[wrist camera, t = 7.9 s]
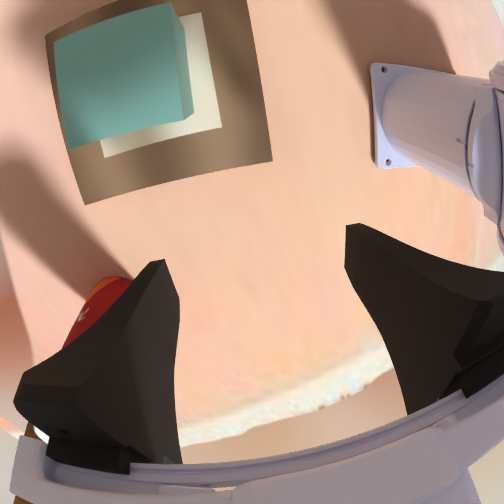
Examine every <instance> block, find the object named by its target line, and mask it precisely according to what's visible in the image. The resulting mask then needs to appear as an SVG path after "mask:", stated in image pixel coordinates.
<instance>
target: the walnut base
mask: <svg viewBox="0 0 504 504" xmlns="http://www.w3.org/2000/svg"><path fill="white" fill-rule="evenodd" d="M169 2H171V4H172V6H173V8H174V10H175V12H176V14H177V16H178V18H179V20H180V21H181V23H182V25H183V27H184V29H185V39H186V48H187V57H188V66H189V75H190V83H191V91H192V99H193V106H194V114H192V115H191V116H189V117H188V118H186V119H185V120H183V121H178V122H172V123H167V124H162V125H158V126H153V127H149V128H144V129H140V130H136V131H132V132H128V133H124V134H120V135H116V136H113V137H109V138H106V139H102V140H99V141H95V142H92V143H89V144H86V145H83V146H80V147H77V148H74V149H71V150H69V149H68V145H67V140H66V135H65V130H64V125H63V120H62V114H61V108H60V101H59V94H58V87H57V78H56V68H55V56H54V42H55V41H57V40H59V39H61V38H63V37H66V36H68V35H70V34H72V33H74V32H77V31H79V30H81V29H84V28H86V27H89V26H91V25H94V24H97V23H99V22H102V21H105V20H108V19H110V18H113V17H116V16H120V15H123V14H126V13H129V12H133V11H136V10H140V9H144V8H147V7H151V6H156V5H160V4H164V3H169ZM45 38H46V48H47V57H48V64H49V71H50V78H51V83H52V89H53V94H54V99H55V104H56V109H57V113H58V118H59V122H60V126H61V130H62V134H63V138H64V142H65V145H66V149H67V152H68V156H69V159H70V163H71V166H72V169H73V172H74V175H75V178H76V181H77V184H78V187H79V190H80V193H81V196H82V199H83V201H84V204H85V205H88V204H91V203H94V202H97V201H100V200H104V199H107V198H110V197H114V196H117V195H121V194H124V193H128V192H131V191H135V190H139V189H143V188H146V187H150V186H154V185H158V184H162V183H166V182H170V181H174V180H179V179H183V178H187V177H192V176H196V175H201V174H206V173H210V172H215V171H220V170H225V169H230V168H236V167H241V166H247V165H252V164H258V163H264V162H271V161H273V159H272V152H271V145H270V138H269V131H268V124H267V117H266V111H265V104H264V98H263V91H262V85H261V79H260V73H259V67H258V61H257V55H256V49H255V43H254V38H253V32H252V27H251V21H250V16H249V11H248V6H247V0H119V1H116V2H114V3H111V4H109V5H106V6H104V7H101V8H99V9H97V10H94V11H92V12H90V13H88V14H86V15H83V16H81V17H79V18H77V19H75V20H73V21H71V22H69V23H67V24H65V25H63V26H62V27H60V28H58V29H56V30H54V31H53V32H51V33H49V34H47V35H46V36H45Z"/></svg>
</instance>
